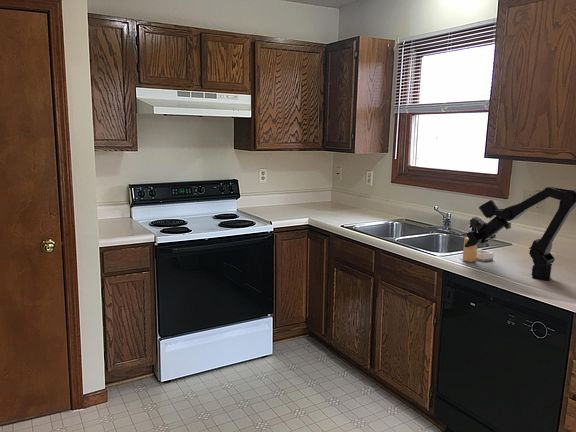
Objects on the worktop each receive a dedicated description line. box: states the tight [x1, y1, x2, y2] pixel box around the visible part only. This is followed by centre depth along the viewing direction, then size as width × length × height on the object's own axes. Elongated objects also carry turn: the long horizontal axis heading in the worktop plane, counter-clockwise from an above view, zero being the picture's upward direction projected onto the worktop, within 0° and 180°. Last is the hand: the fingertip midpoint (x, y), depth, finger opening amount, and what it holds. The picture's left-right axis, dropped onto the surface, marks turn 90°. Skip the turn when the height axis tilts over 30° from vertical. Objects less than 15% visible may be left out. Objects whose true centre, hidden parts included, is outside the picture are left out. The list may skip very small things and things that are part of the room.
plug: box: [462, 236, 479, 263], centre depth 222 cm, size 4×4×12 cm
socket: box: [476, 249, 494, 263], centre depth 227 cm, size 7×7×4 cm
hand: (467, 245), depth 223 cm, fingers closed on plug, 4 cm apart
